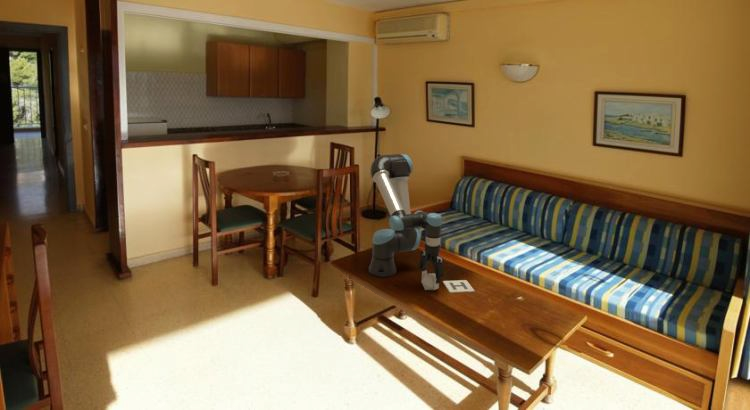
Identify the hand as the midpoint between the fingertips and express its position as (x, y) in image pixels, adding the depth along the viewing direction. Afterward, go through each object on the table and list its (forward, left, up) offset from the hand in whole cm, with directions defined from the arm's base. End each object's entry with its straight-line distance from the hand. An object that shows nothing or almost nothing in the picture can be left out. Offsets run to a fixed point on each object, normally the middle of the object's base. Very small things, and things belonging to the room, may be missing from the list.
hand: (429, 285), depth 251 cm
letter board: (+7, +14, -2) cm, 16 cm away
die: (0, 0, -2) cm, 2 cm away
